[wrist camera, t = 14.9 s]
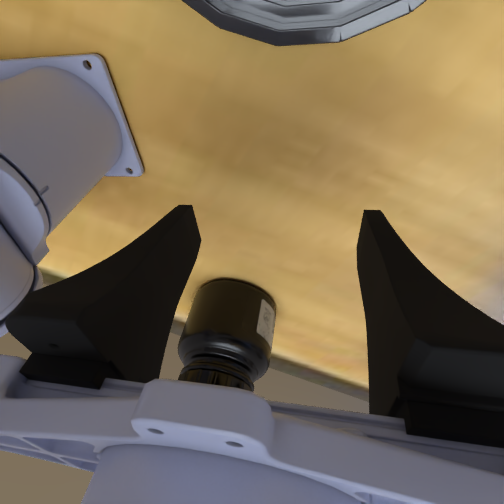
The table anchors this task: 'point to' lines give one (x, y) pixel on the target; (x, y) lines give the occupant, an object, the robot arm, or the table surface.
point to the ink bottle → (227, 335)
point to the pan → (301, 18)
